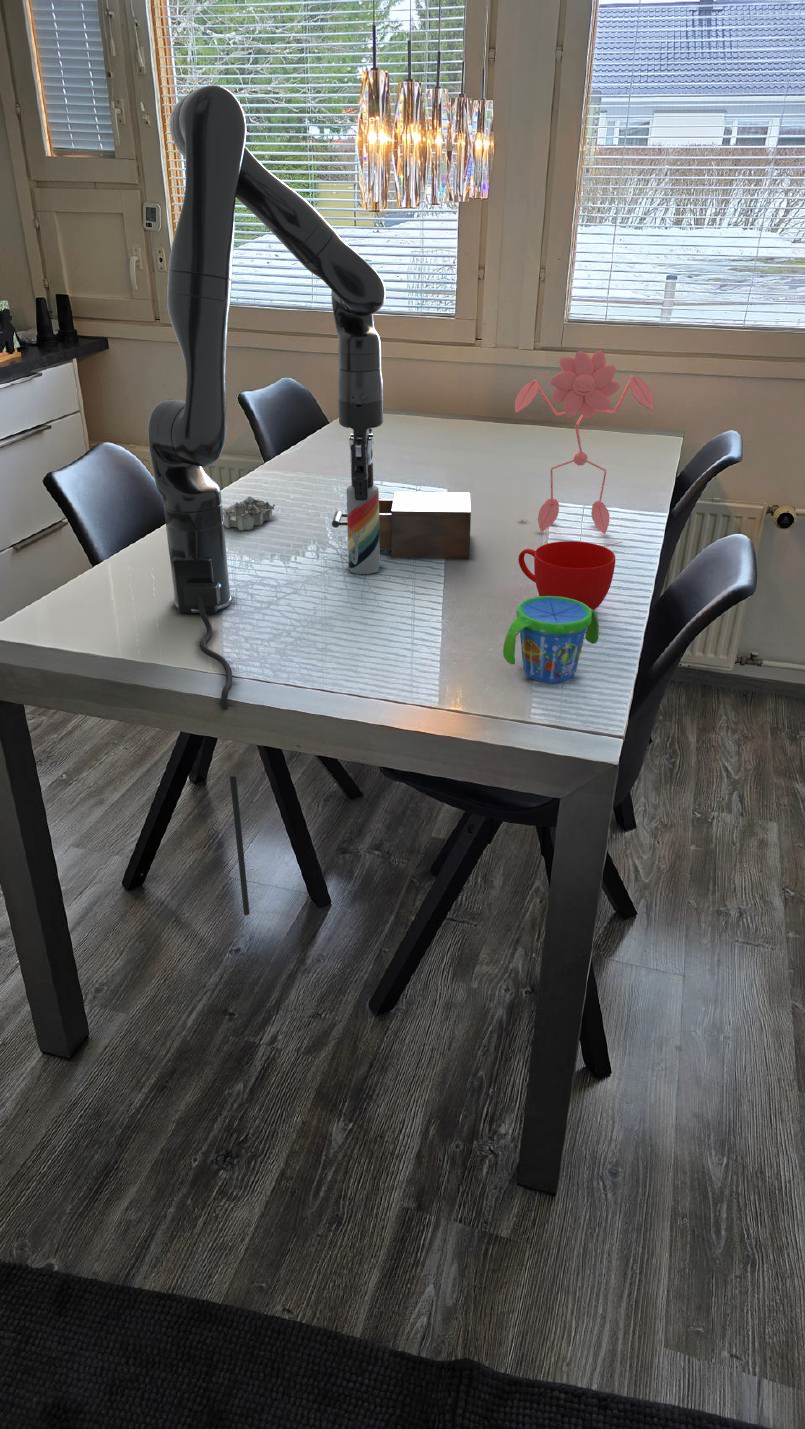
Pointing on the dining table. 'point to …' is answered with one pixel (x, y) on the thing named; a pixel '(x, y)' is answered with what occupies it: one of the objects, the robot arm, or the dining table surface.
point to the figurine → (583, 413)
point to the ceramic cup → (571, 571)
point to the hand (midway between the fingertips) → (362, 494)
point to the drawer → (384, 522)
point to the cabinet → (431, 525)
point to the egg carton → (247, 514)
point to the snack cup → (551, 636)
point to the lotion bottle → (363, 527)
